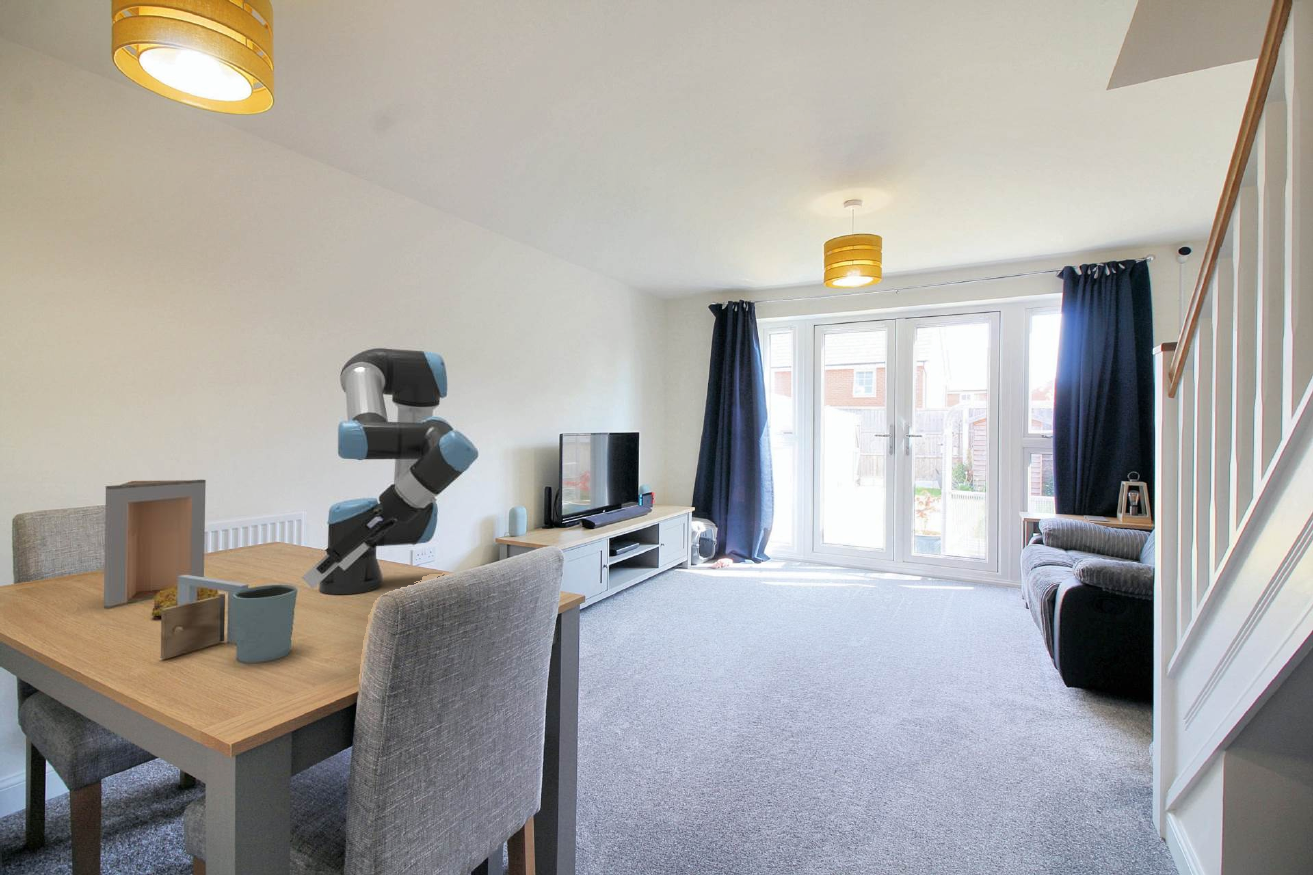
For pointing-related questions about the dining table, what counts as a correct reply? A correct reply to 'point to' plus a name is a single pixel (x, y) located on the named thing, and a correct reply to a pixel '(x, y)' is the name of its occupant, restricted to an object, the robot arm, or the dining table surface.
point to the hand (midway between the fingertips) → (324, 573)
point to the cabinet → (152, 538)
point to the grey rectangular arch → (190, 584)
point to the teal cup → (264, 622)
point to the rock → (171, 594)
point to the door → (192, 626)
